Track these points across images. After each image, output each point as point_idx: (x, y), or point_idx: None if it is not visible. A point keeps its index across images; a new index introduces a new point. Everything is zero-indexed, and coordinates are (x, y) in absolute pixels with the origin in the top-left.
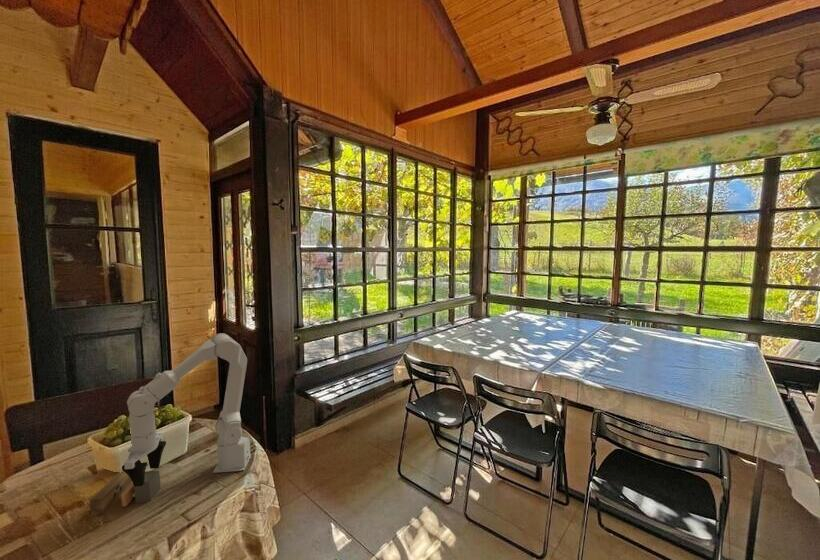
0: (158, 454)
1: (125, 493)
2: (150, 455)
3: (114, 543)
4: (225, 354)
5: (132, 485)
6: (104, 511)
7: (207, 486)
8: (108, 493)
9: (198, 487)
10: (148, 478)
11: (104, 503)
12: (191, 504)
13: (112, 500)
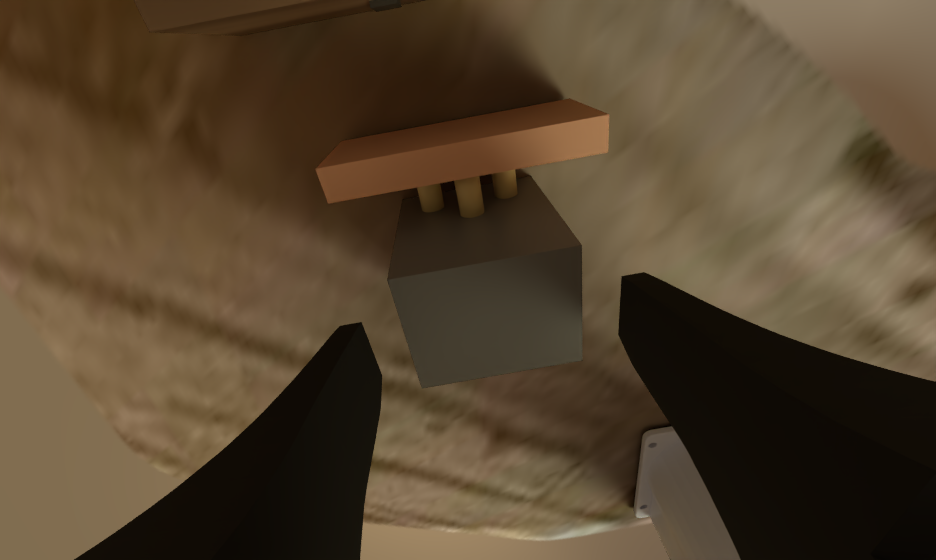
0: (712, 484)
1: (342, 193)
2: (731, 399)
3: (106, 332)
4: None
5: (456, 167)
6: (250, 32)
7: (543, 452)
8: (269, 12)
9: (538, 427)
10: (469, 351)
11: (225, 28)
12: (424, 459)
13: (352, 9)
